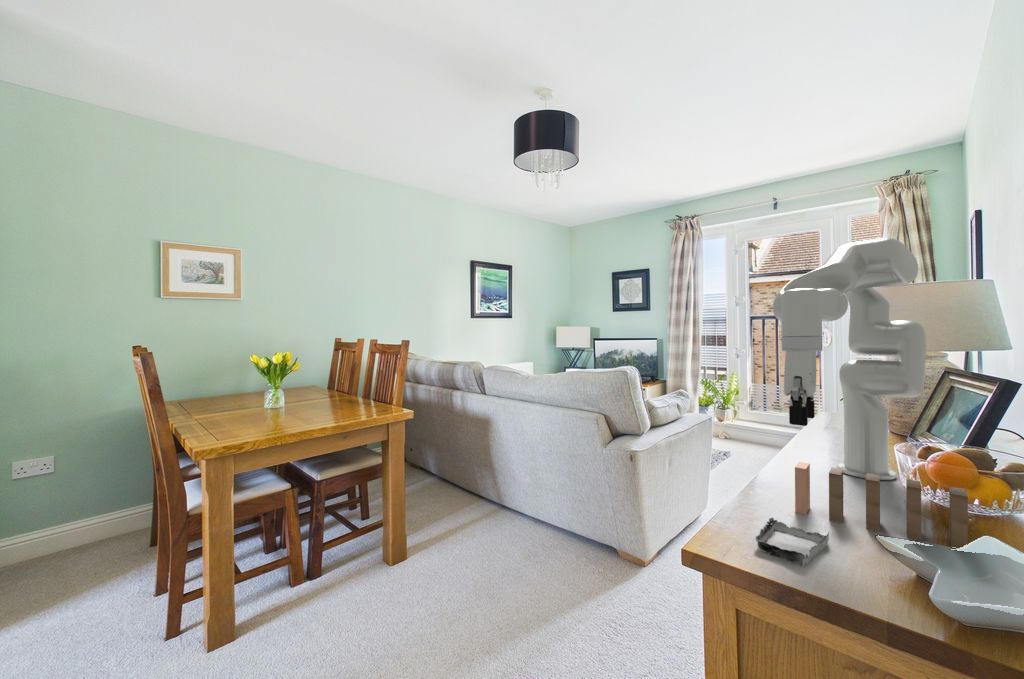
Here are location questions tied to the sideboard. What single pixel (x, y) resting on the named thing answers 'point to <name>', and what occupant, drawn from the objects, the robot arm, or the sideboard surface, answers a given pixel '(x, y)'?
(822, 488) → the sideboard surface
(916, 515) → the domino
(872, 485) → the domino
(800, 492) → the domino
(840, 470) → the domino
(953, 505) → the domino
